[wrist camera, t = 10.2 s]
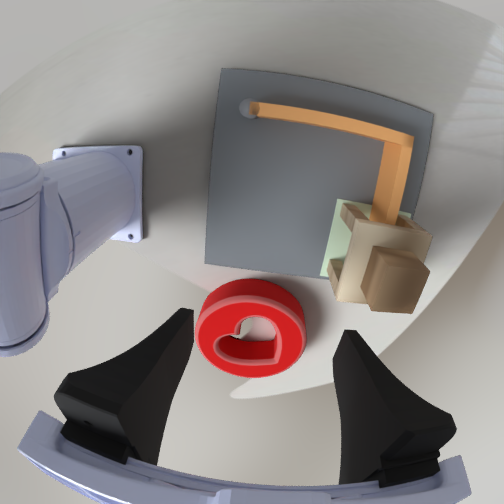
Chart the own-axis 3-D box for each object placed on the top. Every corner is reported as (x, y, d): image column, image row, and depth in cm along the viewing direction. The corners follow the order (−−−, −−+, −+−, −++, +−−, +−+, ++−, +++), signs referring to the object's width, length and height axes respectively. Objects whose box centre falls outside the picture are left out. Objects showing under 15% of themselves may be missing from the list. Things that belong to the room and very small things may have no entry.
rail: (229, 250, 22) (223, 269, 19) (244, 101, 17) (240, 97, 14) (366, 268, 22) (377, 288, 19) (398, 132, 17) (417, 134, 14)
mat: (206, 260, 23) (204, 263, 22) (222, 70, 17) (221, 68, 16) (388, 283, 23) (390, 286, 22) (429, 114, 17) (433, 114, 16)
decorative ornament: (278, 366, 28) (279, 388, 25) (191, 339, 27) (184, 361, 25) (322, 298, 24) (327, 320, 21) (217, 261, 23) (210, 281, 20)
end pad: (319, 275, 22) (320, 275, 22) (337, 198, 20) (337, 198, 19) (388, 283, 22) (388, 283, 22) (410, 213, 20) (411, 213, 19)
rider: (326, 270, 22) (345, 327, 16) (342, 203, 20) (374, 239, 13) (387, 277, 22) (419, 330, 16) (406, 215, 20) (453, 254, 13)
